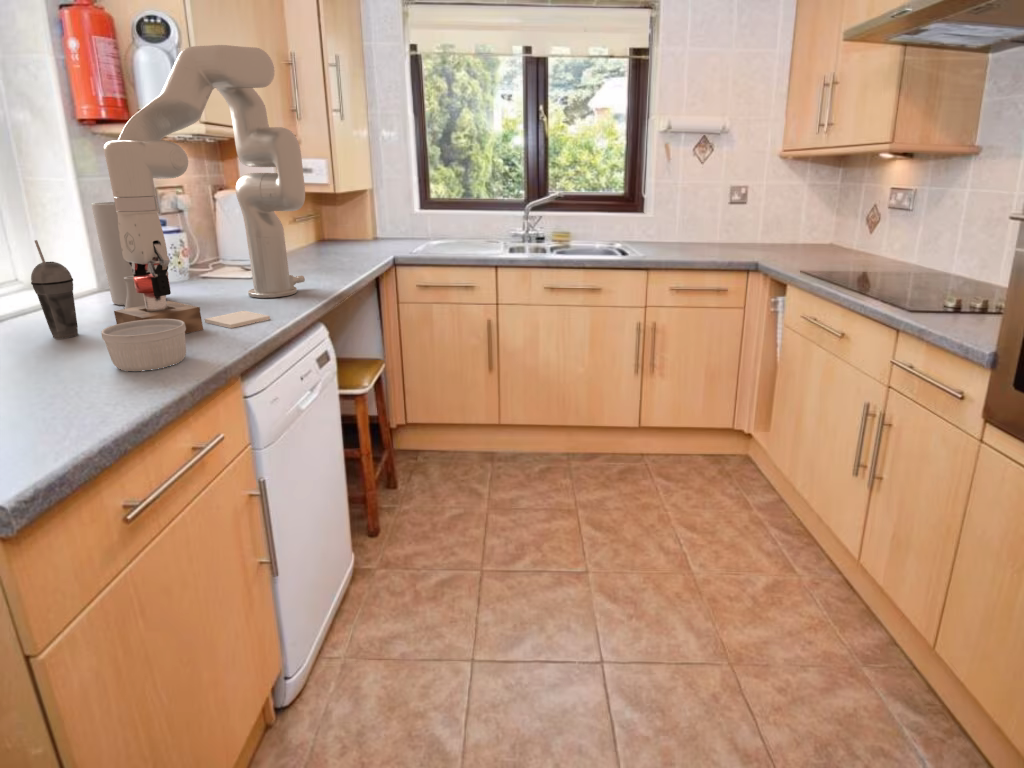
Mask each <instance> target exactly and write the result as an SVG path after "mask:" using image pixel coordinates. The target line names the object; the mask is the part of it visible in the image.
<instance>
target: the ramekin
mask: <svg viewBox="0 0 1024 768" xmlns="http://www.w3.org/2000/svg"><path fill="white" fill-rule="evenodd" d="M185 331H186V326H185V323H184V322H183V321H181V320H176V319H148V320H138V321H131V322H125V323H121V324H117V323H116V324H113V325H110V326H107V327H106V328H104V329H103V328H102V330H101V333H100V334H101V339H102V341H104V343H105V346H106V349H107V352H108V354H109V357H110V359H111V361H112V364H113V365H114V367H115V368H118V370H120V369H121V370H120V371H123V370H126V371H125V372H128V371H141V372H143V371H142V370H151V369H158V368H163V367H167V366H170V365H173V364H176V363H178V364H180V363H181V362H182V361H183V360H184V359H185V357H186V353H187V345H186V343H187V342H186V334H185ZM180 361H181V362H180ZM179 362H180V363H179ZM176 365H177V364H176ZM167 368H168V367H167ZM163 369H164V368H163ZM158 370H159V369H158Z"/></svg>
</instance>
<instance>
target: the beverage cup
mask: <svg viewBox="0 0 1024 768" xmlns="http://www.w3.org/2000/svg"><path fill="white" fill-rule="evenodd" d="M34 243H35V247H36V248H37V251H38V254H39V257H40V259H41V261H42V262H40V263H38V264H37V265H36V266H35V267H34V268H33V269H32V272H31V276H30V285H31V286H32V288H33V290H34V292H35V294H36V295H37V298H38V301H39V304H40V306H41V309H42V312H43V315H44V318H45V320H46V323H47V326H48V329H49V331H50V333H51V336H52V338H54V339H67V338H68V339H70V338H73V337H77V336H79V329H78V319H77V313H76V305H75V299H74V298H75V297H74V278H73V276H72V274H71V272H70V271H69V269H68V268H67V267H66V266H65V265H63V264H61V263H59V262H56V261H46V259H45V257H44V255H43V252H42V250H41V249H42V248H41V247H40V245H39V242H38V240H37V239H35V240H34Z"/></svg>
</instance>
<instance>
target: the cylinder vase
mask: <svg viewBox="0 0 1024 768" xmlns="http://www.w3.org/2000/svg"><path fill="white" fill-rule="evenodd" d="M91 210H92V215H93V220H94V223H95V228H96V232H97V234H96V235H97V238H98V243H99V246H100V252H101V256H102V260H103V265H104V270H105V274H106V278H107V279H106V280H107V283H108V284H107V285H108V287H109V294H110V296H111V297H110V298H111V301H112V303H114V304H115V305H117V306H125V304H126V298H127V285H126V281H125V280H124V277H131V276H134V275H133V273H132V267H131V265H130V264H129V262H127V261H126V260H125V259H124V258H123V255H122V249H121V243H120V236H119V228H118V214H117V211H116V206H115V201H106V202H93V203H91ZM152 261H153V260H152ZM154 266H155V269H156V268H157V265H154ZM147 272H150V274H152V273H151V270H150V268H149V266H148V271H147ZM165 297H166V298H167V295H165Z"/></svg>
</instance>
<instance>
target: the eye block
mask: <svg viewBox="0 0 1024 768" xmlns="http://www.w3.org/2000/svg"><path fill="white" fill-rule="evenodd" d="M166 302H167V308H168V310H164V311H158V312H153V313H149V312H147V310H146V305H144V306H138V307H133V308H127V309H125V308H123V309H117V310H113V314H114V318H115V321H116V322H115V323H116V324H121V323H125V322H131V321H138V320H148V319H176V320H181V321H183V322H184V323H185V326H186V331H185V335H186V334H190V333H194V332H199V331H203V330H204V327H203V319H202V314H201V309H200V306H196V305H191V304H188V303H186V304H185V303H183V302H182V303H181V302H177V301H172V300H166Z"/></svg>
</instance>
